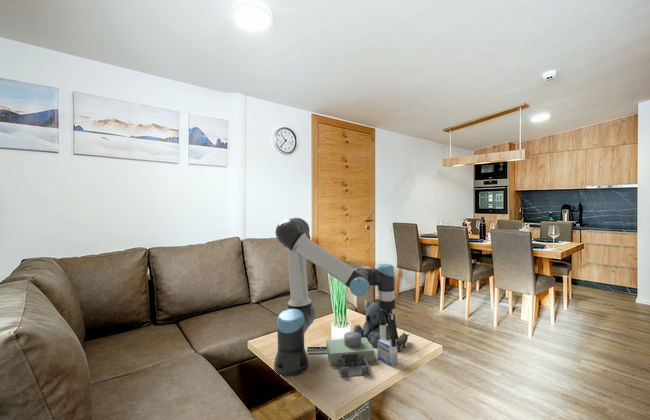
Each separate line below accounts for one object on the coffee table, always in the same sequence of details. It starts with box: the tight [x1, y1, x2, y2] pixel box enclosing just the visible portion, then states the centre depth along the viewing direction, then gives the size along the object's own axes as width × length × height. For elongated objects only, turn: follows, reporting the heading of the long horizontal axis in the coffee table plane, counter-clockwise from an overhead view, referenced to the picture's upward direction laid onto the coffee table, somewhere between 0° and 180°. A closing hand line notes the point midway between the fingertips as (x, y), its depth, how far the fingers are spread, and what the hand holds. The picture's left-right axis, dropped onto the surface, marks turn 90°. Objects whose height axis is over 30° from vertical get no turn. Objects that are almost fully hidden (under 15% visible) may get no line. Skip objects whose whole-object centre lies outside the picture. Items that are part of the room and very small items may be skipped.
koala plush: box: [353, 299, 390, 348], centre depth 156 cm, size 17×18×20 cm
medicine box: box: [377, 338, 398, 366], centre depth 133 cm, size 8×4×9 cm, turn 40°
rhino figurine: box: [396, 332, 410, 353], centre depth 147 cm, size 4×14×6 cm, turn 142°
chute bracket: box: [336, 356, 370, 378], centre depth 126 cm, size 12×9×4 cm
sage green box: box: [325, 331, 375, 366], centre depth 138 cm, size 20×13×9 cm, turn 97°
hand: (387, 345), depth 133 cm, fingers open, 13 cm apart
